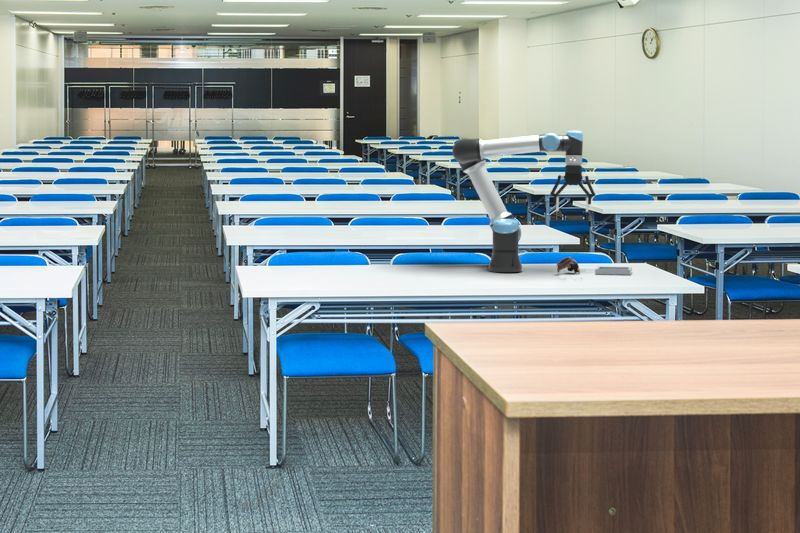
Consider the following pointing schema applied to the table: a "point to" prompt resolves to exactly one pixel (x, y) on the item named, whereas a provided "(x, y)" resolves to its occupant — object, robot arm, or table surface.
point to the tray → (613, 271)
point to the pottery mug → (568, 265)
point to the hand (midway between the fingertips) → (572, 211)
